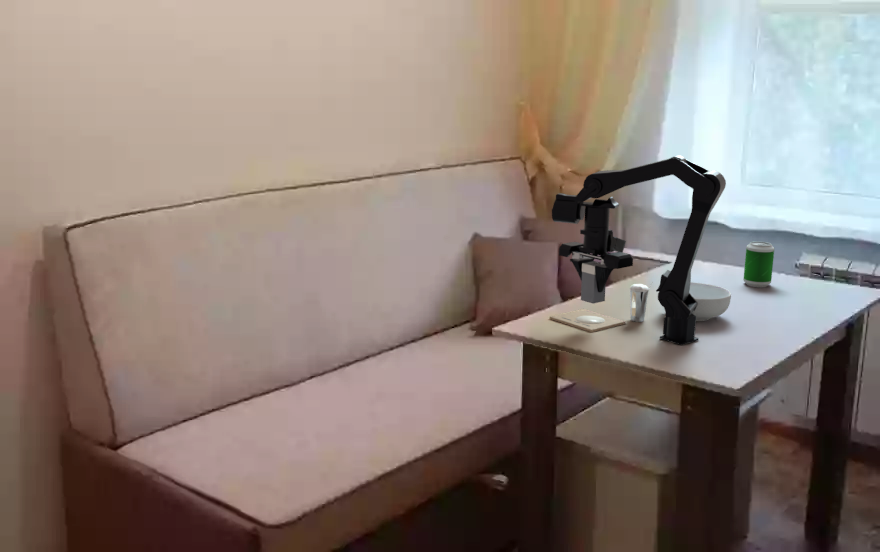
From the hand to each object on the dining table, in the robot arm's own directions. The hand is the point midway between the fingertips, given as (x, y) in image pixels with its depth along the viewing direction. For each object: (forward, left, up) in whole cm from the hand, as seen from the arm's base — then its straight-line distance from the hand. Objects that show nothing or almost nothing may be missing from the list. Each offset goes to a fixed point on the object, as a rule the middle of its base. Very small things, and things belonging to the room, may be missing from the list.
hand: (593, 290), depth 228 cm
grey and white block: (0, 0, -3) cm, 3 cm away
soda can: (+1, -70, -9) cm, 71 cm away
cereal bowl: (-9, -28, -9) cm, 31 cm away
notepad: (+4, -3, -9) cm, 10 cm away
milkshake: (-3, -14, -9) cm, 17 cm away
